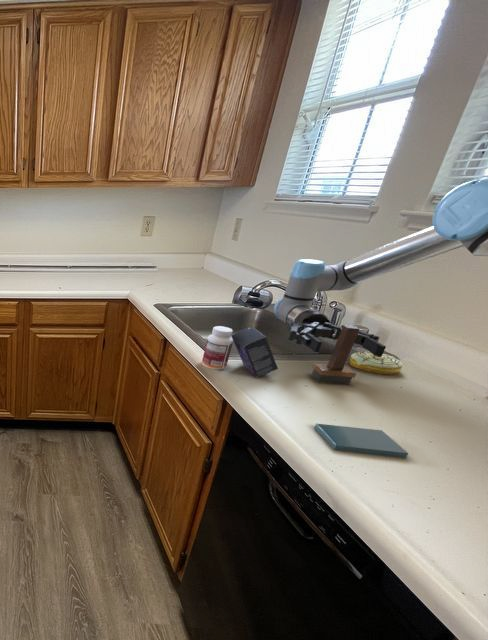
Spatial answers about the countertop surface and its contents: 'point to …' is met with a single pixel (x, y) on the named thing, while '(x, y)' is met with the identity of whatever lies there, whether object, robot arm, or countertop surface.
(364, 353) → the decorated donut
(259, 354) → the box
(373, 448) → the tile
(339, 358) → the brush
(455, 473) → the countertop surface
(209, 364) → the pill bottle
